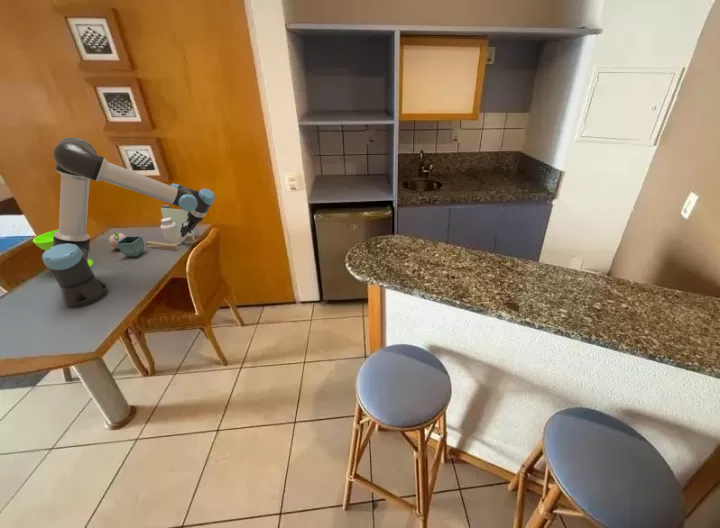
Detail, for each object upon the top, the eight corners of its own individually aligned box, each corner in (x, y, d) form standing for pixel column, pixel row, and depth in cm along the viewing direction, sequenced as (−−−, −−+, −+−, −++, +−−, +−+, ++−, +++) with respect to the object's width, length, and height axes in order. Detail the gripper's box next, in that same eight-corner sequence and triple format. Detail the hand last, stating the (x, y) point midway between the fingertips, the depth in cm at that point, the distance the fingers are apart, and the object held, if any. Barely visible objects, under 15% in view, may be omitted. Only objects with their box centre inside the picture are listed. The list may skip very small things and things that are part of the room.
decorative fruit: (113, 247, 174) (105, 231, 169) (130, 243, 178) (122, 227, 173) (113, 254, 167) (105, 237, 162) (131, 249, 171) (124, 233, 166)
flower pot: (138, 258, 162) (131, 243, 157) (122, 258, 162) (114, 243, 158) (148, 250, 170) (142, 236, 165) (133, 250, 170) (126, 236, 165)
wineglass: (99, 257, 164) (83, 226, 155) (83, 273, 151) (64, 240, 141) (65, 261, 161) (46, 230, 152) (45, 278, 148) (23, 244, 139)
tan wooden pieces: (176, 250, 168) (164, 220, 159) (147, 247, 173) (134, 217, 164) (201, 235, 185) (192, 206, 176) (174, 232, 190) (164, 204, 181)
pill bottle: (168, 241, 178) (159, 217, 171) (183, 239, 181) (175, 215, 173) (166, 247, 172) (156, 223, 164) (181, 245, 174) (172, 220, 166)
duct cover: (189, 210, 174) (190, 210, 175) (160, 208, 178) (162, 207, 180) (193, 234, 179) (195, 233, 180) (165, 231, 184) (167, 230, 185)
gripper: (194, 222, 157) (178, 248, 170) (211, 213, 168) (195, 238, 180) (182, 212, 155) (167, 238, 168) (200, 203, 166) (185, 229, 179)
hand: (182, 238), depth 174 cm, fingers closed
